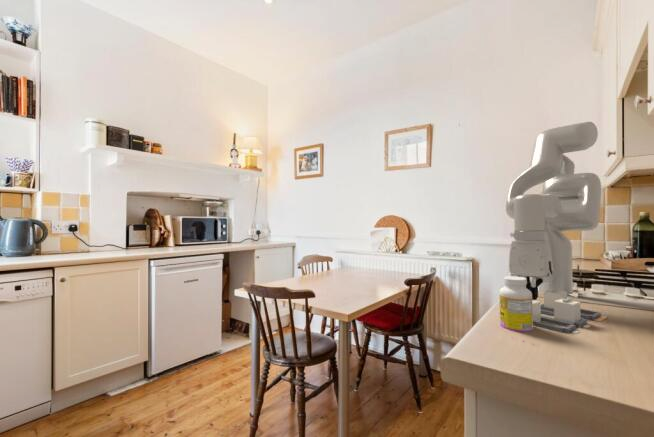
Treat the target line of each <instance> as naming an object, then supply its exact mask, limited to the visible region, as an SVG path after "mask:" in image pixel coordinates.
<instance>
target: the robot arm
mask: <svg viewBox="0 0 654 437" xmlns="http://www.w3.org/2000/svg"><path fill="white" fill-rule="evenodd" d="M598 133H599V131H598V127H597V125H596V124H595V123H594V122H592V121H585V122H579V123H573V124H569V125H563V126H557V127H552V128H549V129H546V130H544V131H542V132H540V133H539V134H538V135H537V136H536V137H535V140H534V144H533V148H532V153H531V159H530V163H529V167H528V168H527V169H526V170H524V171H523V172H522V173H520V175H518V177H516V179H515V180H513V182H512V183H511V185H510V187H509V190H508V192H507V198H506V201H505V202H506V203H505V212H506V215H507V216H508V217H509V218H511V219H514V221H513V222H514V231H513V232H510V233H509V234H510V237H512V238H513V239H514V240H511V244H510V247H509V248H510V250H509V256H508V257H509V258H508V271H509V273H510V276H516V277H524V278H526V279H527V284H526V288H527V289H528V290H530V291H531V293H532V300H536V301H538V299H537V298H538V297H539V292H540V293H543V294H544V291H547V290H554V289H559V291H563V292H567V297H568V298H575V297H574V296H571V295H569V294H572V293H573V291H574V290H573V289H574V286H575V283H574V282H573V279H574V278H573V247H572V246H573V244H572V243H571V240H570V239H569V238H568V236H566V235H565V233H564V232H566V231H568V232H571V231H573V232H575V231H578V232H580V231H581V232H582V231H583V232H584V231H593V230H595V229H596V228H597V227H599V222H600V216H601V215H600V213H601V199H602V183H601V179H600V177H599V176H598V175H597V174H596V173H593V172H579V173H575V168H576V167H575V162H574V161H573V160H572V159H571V158H569V157H568V156H566V155H565V154H567V153H574V152H580V151H586V150H589V149H590V148H591V147H593V146H595V144H596V142H597V139H598V135H599V134H598ZM542 183H543V184H542ZM540 184H542V194H539V193H534V194H533V193H532V194H531V193H529V194H526V192H527V191H529V190H530V189H531V188H533V187H536V186H538V185H540ZM538 288H539V291H538Z"/></svg>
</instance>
